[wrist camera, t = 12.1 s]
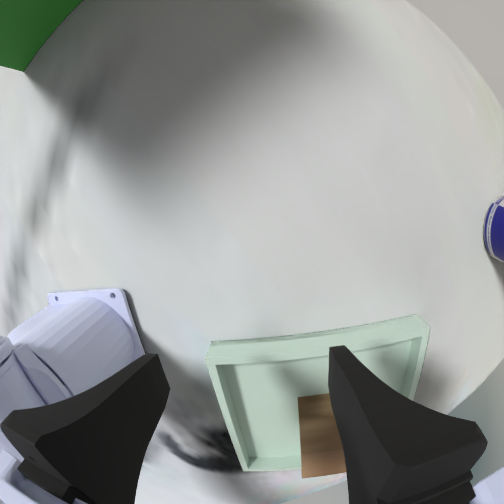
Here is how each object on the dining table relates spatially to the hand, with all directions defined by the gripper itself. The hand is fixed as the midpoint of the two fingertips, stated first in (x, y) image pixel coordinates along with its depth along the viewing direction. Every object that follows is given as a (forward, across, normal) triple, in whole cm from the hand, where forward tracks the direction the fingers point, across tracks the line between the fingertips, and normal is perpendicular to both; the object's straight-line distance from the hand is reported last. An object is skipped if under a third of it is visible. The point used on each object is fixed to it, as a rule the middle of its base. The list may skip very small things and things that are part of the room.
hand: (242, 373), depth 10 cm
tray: (+8, -4, +11) cm, 15 cm away
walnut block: (+8, -4, +11) cm, 14 cm away
